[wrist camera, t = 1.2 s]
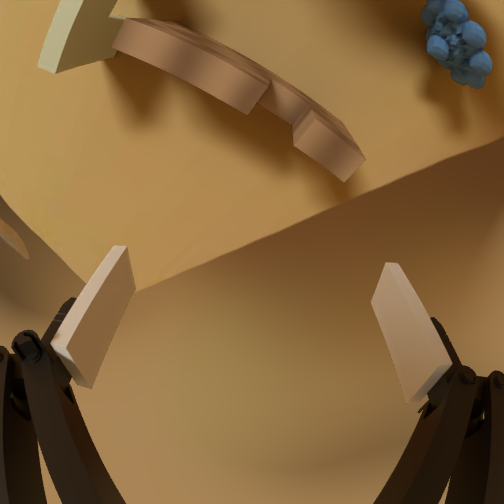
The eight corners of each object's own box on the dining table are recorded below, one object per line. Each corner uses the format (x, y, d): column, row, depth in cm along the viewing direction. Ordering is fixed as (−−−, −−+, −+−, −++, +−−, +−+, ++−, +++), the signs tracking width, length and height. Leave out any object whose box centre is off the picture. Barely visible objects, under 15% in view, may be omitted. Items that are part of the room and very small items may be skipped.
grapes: (381, 7, 21) (425, -3, 12) (422, -6, 18) (477, -15, 9) (424, 89, 26) (476, 116, 18) (462, 73, 23) (519, 97, 14)
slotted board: (162, 41, 26) (111, 47, 17) (174, 21, 24) (125, 17, 16) (327, 139, 33) (344, 182, 24) (342, 122, 32) (366, 159, 23)
